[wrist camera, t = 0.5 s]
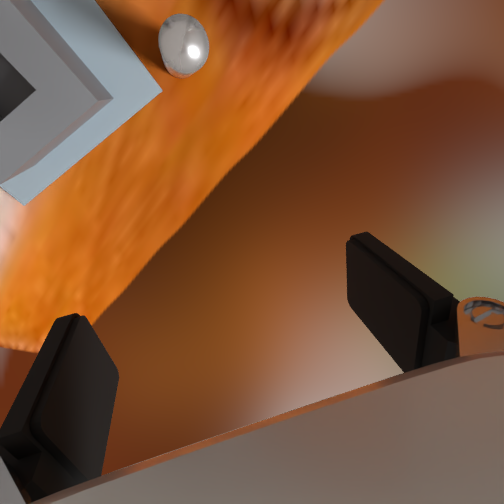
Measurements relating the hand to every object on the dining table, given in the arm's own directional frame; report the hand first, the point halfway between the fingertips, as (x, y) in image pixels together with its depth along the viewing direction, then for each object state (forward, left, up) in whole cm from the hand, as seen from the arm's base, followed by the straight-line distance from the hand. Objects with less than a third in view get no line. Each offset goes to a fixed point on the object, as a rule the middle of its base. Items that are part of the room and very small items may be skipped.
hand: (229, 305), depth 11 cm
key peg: (-5, -8, -26) cm, 28 cm away
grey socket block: (+9, -14, -26) cm, 31 cm away
